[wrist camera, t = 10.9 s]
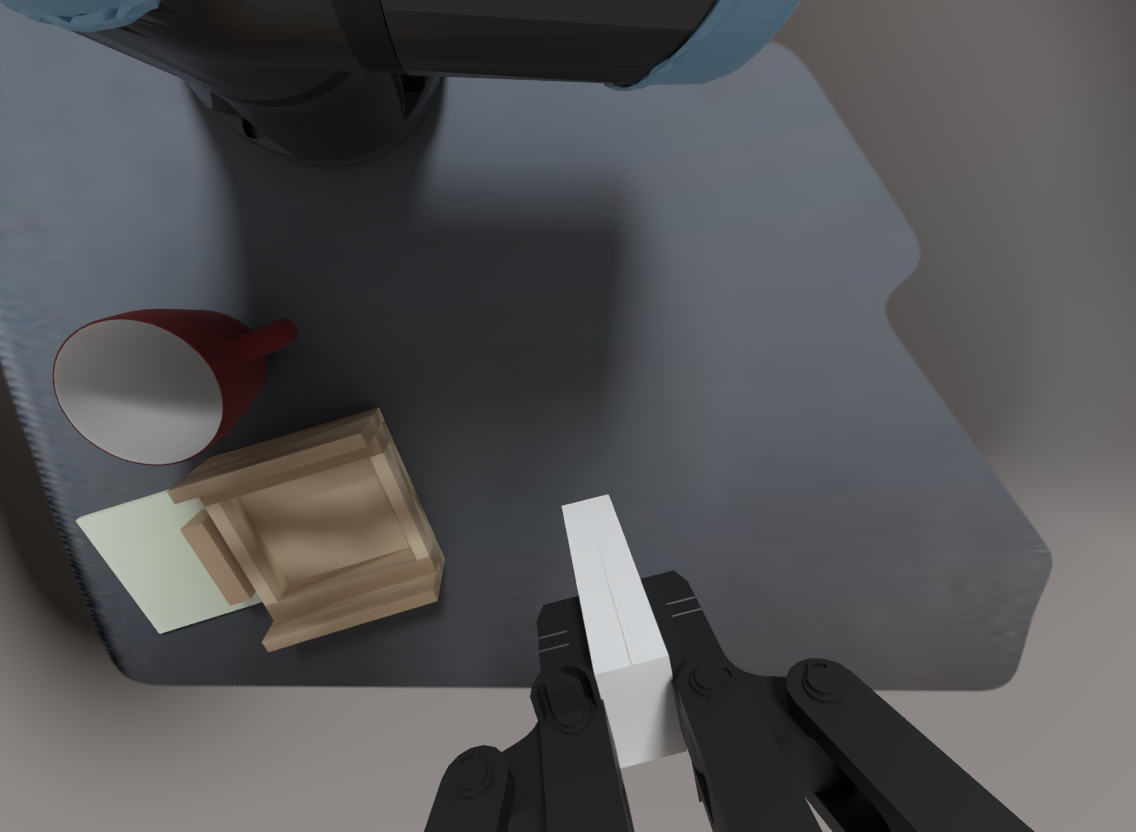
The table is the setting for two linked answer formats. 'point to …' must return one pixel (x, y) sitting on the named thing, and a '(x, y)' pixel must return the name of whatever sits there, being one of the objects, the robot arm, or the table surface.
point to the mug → (163, 380)
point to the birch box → (322, 526)
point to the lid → (170, 560)
